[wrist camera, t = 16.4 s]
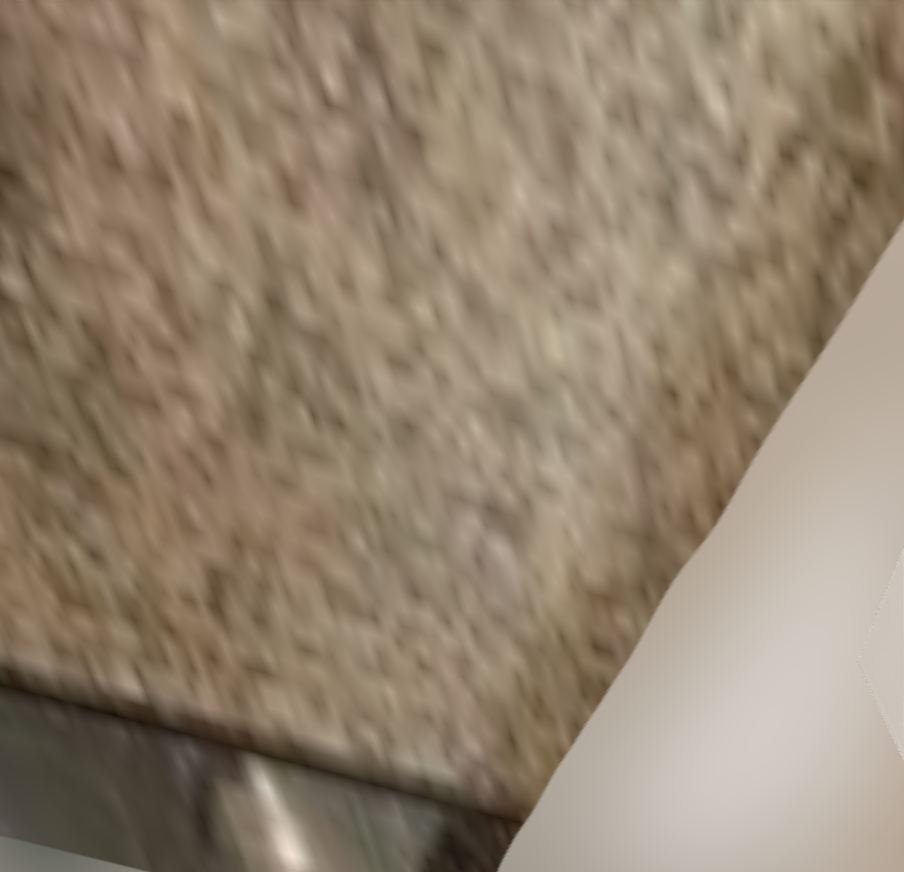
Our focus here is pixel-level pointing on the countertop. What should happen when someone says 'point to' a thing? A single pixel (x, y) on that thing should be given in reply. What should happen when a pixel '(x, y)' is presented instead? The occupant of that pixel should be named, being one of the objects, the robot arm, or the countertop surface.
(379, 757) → the countertop surface
